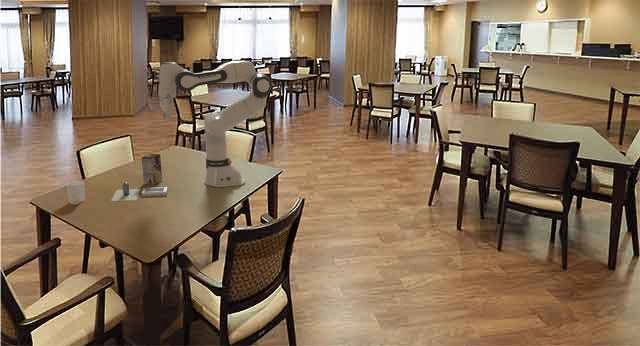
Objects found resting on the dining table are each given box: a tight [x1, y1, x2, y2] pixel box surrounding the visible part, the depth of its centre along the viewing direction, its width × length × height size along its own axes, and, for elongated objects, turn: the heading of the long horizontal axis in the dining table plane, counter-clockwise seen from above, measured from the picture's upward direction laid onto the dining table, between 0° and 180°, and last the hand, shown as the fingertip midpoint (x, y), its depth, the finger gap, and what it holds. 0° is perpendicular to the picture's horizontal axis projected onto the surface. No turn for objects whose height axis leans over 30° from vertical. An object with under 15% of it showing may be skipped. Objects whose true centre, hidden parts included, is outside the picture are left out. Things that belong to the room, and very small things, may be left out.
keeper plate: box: [110, 188, 142, 202], centre depth 259 cm, size 12×18×1 cm, turn 12°
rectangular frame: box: [141, 186, 169, 198], centre depth 261 cm, size 12×8×3 cm, turn 102°
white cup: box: [65, 180, 86, 205], centre depth 247 cm, size 8×8×10 cm
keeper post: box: [121, 181, 130, 196], centre depth 258 cm, size 3×3×6 cm
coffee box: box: [141, 153, 163, 185], centre depth 278 cm, size 9×6×16 cm
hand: (165, 119), depth 268 cm, fingers open, 8 cm apart
